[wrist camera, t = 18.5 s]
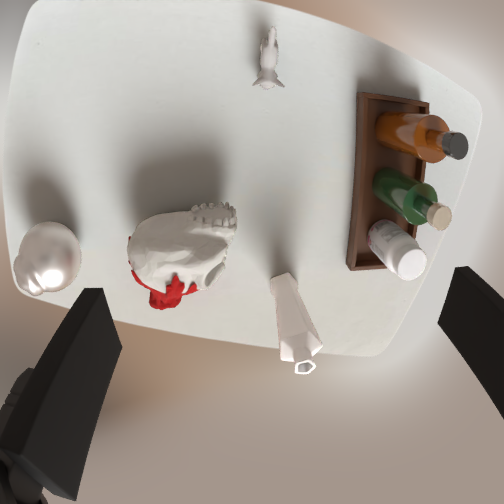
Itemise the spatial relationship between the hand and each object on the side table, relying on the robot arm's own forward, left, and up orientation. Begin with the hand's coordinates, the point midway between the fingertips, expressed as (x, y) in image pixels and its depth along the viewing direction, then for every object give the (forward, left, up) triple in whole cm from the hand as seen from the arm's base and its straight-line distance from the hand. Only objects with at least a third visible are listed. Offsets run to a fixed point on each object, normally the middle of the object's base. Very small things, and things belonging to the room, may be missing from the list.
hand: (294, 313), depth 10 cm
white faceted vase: (+16, +4, -27) cm, 32 cm away
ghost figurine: (+8, -26, -27) cm, 38 cm away
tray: (+2, +17, -27) cm, 32 cm away
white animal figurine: (-12, +2, -27) cm, 30 cm away
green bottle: (+2, +17, -27) cm, 32 cm away
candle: (+9, -9, -27) cm, 30 cm away
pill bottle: (+9, +17, -26) cm, 33 cm away
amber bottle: (-5, +17, -27) cm, 32 cm away
